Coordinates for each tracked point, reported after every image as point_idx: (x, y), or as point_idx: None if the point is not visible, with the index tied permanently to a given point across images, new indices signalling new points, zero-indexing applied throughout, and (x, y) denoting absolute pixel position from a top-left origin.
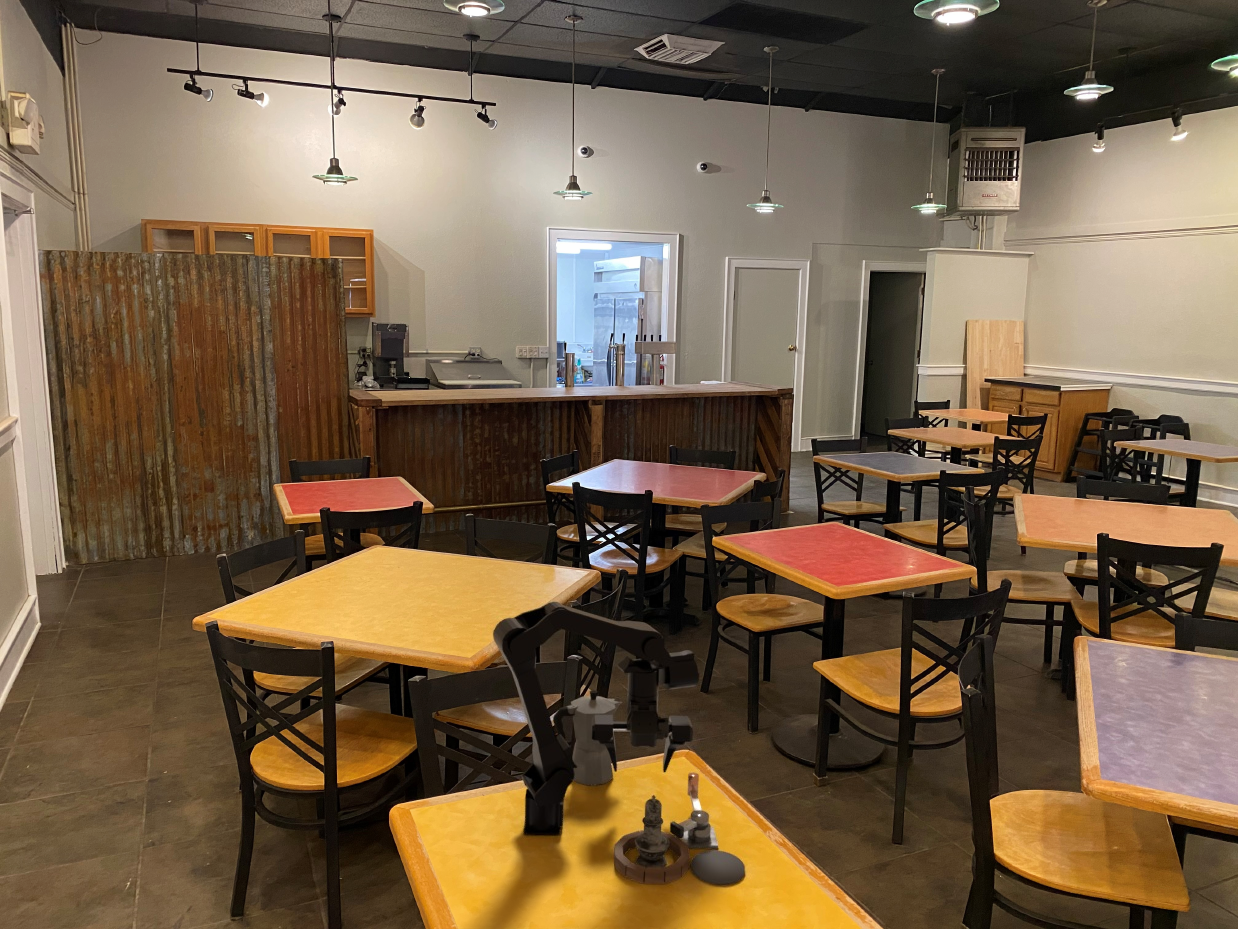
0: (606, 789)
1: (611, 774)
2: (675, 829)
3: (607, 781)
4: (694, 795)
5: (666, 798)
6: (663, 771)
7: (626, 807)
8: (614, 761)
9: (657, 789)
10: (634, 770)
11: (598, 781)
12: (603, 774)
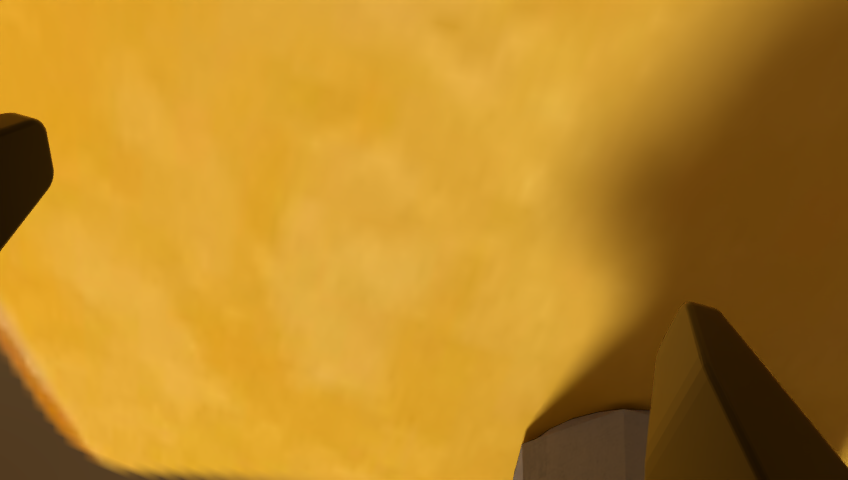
0: (613, 352)
1: (534, 461)
2: None
3: (572, 422)
4: None
5: (221, 141)
6: (31, 125)
7: (551, 93)
8: (776, 427)
9: (269, 258)
10: (373, 463)
11: None
12: (606, 466)
